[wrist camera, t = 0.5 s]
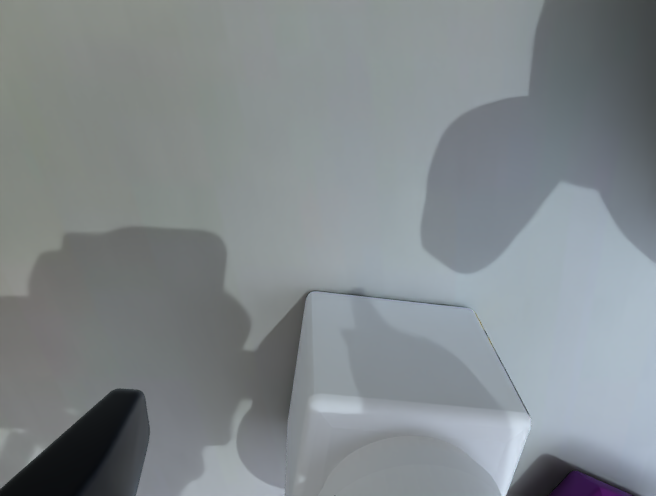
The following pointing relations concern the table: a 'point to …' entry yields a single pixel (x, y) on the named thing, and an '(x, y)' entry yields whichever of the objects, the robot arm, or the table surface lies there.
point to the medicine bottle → (399, 402)
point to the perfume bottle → (585, 487)
